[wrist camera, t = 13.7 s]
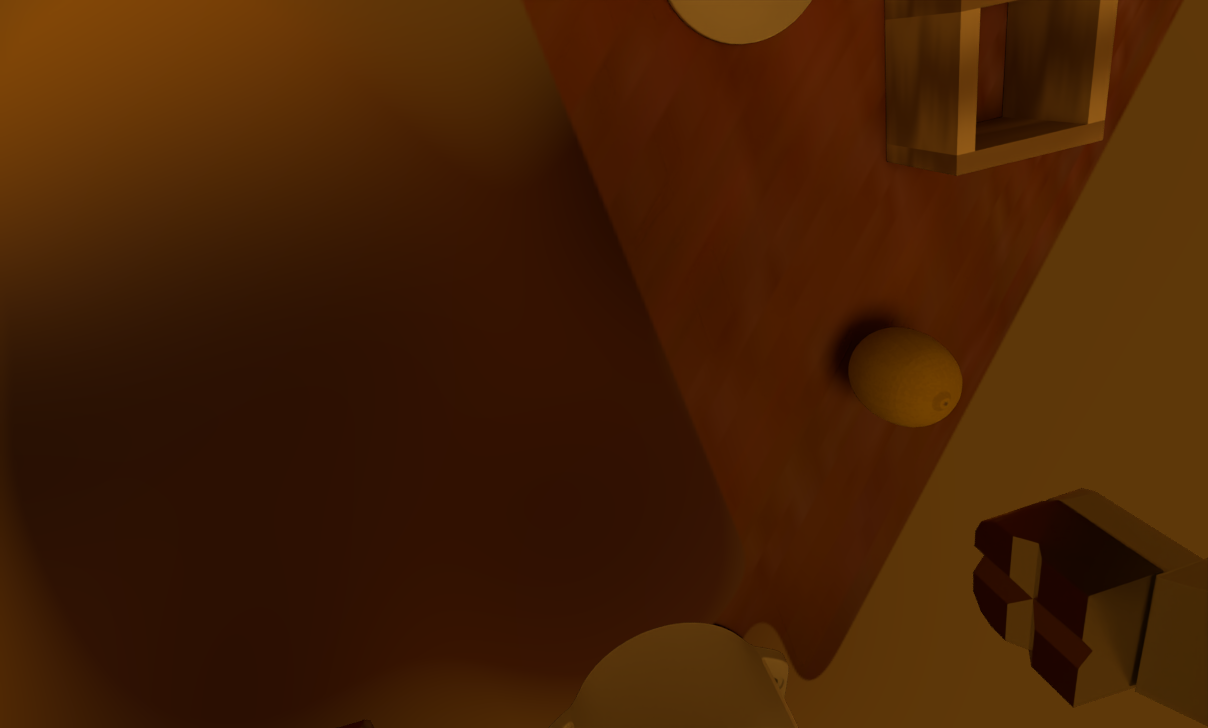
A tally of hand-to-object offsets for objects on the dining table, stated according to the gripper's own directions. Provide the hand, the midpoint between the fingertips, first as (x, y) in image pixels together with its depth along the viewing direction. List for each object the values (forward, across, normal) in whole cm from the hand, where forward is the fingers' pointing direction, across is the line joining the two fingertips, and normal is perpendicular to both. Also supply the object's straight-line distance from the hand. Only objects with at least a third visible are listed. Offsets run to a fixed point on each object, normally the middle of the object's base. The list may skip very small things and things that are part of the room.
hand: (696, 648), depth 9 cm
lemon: (+31, +21, -14) cm, 40 cm away
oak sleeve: (+31, +27, +2) cm, 41 cm away
